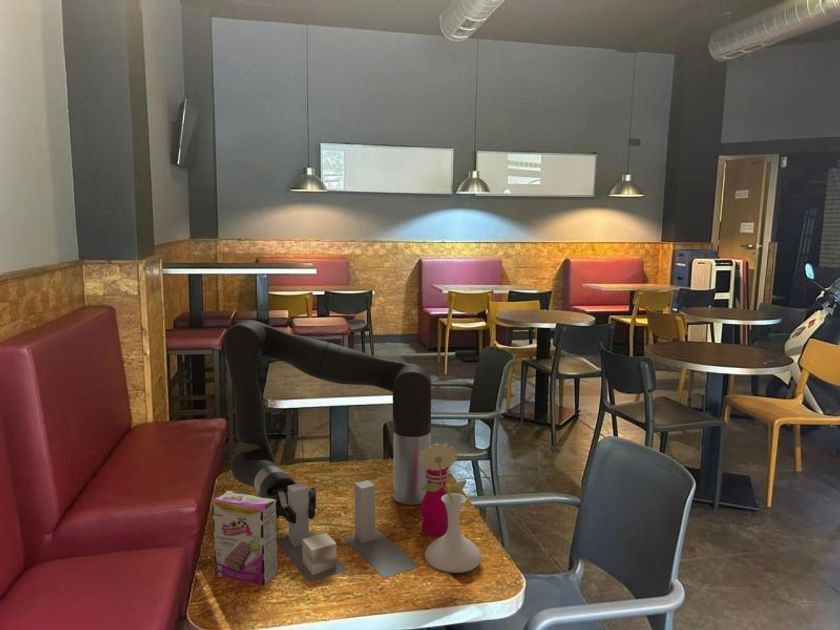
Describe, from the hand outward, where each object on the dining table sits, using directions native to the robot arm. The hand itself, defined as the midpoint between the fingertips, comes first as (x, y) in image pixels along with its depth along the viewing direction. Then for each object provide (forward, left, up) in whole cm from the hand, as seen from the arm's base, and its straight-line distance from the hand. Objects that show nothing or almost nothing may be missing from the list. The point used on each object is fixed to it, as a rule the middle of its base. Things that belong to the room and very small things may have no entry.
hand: (303, 516), depth 127 cm
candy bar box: (+13, +4, -8) cm, 16 cm away
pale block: (0, +8, -7) cm, 10 cm away
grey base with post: (-12, +10, -8) cm, 18 cm away
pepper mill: (-29, +6, -8) cm, 31 cm away
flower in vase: (-23, +19, -8) cm, 31 cm away
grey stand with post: (0, +4, -8) cm, 9 cm away
